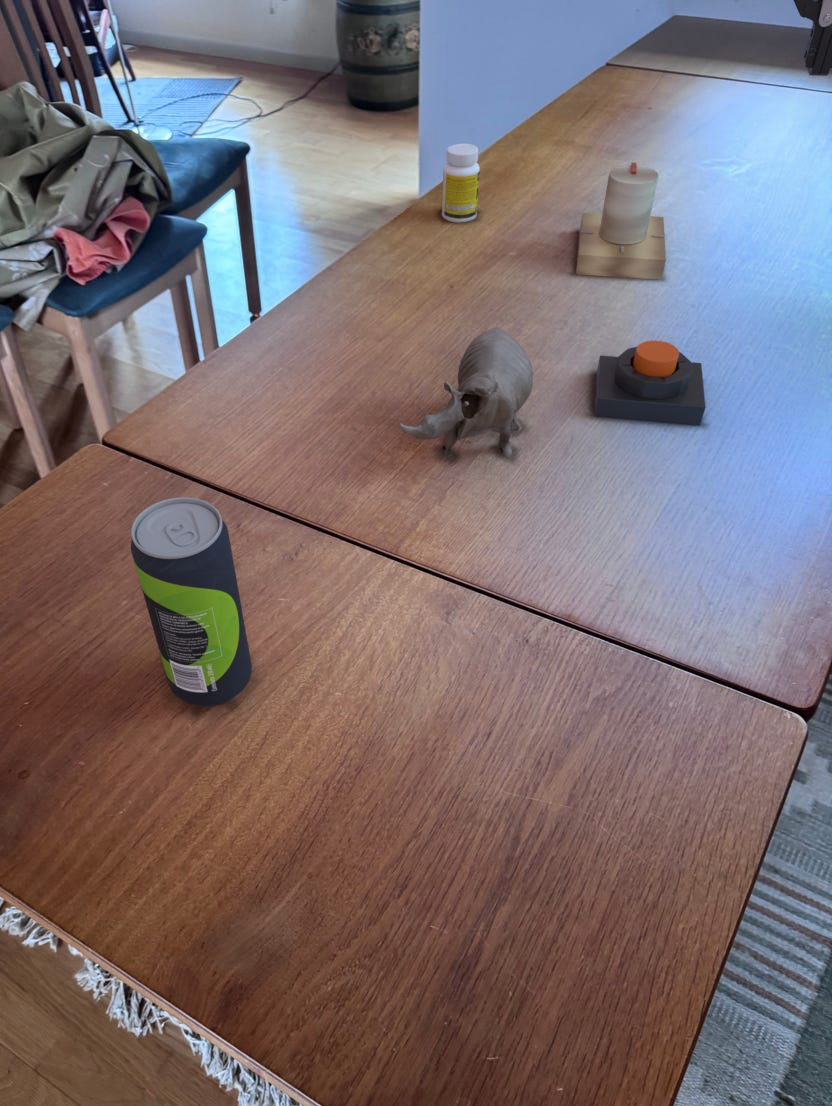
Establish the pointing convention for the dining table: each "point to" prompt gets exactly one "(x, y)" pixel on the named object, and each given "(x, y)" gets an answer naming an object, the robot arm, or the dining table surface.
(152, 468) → the dining table surface
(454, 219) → the supplement bottle
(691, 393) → the button box
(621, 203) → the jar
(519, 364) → the rhinoceros figurine
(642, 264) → the tan square base
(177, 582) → the beverage can
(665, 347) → the button
